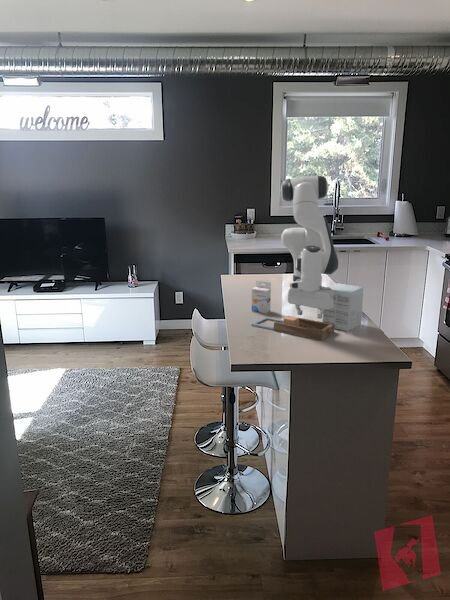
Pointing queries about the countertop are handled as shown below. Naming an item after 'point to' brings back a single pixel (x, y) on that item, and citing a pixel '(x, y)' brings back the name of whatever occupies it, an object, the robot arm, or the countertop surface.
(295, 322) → the terracotta block
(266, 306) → the ink box
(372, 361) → the countertop surface
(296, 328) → the walnut cubby
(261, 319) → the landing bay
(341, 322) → the supplement box
